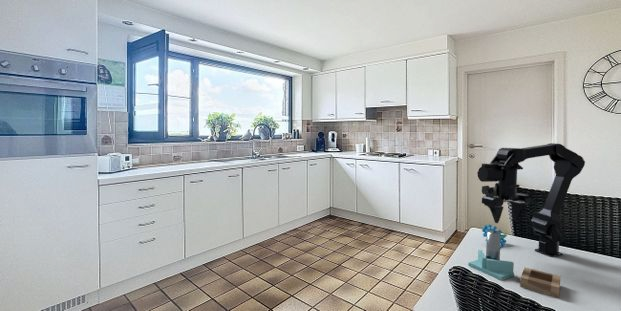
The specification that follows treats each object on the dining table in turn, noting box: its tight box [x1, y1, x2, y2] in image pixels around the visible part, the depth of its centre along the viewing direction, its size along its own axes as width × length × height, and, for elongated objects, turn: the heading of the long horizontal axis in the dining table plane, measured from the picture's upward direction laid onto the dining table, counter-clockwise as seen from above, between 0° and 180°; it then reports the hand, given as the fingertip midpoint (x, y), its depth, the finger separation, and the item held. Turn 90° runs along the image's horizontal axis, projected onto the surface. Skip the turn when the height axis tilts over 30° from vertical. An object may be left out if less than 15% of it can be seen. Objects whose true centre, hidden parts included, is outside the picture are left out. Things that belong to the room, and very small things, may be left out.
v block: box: [467, 249, 515, 281], centre depth 100 cm, size 6×12×5 cm, turn 25°
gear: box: [481, 224, 508, 248], centre depth 125 cm, size 11×6×10 cm
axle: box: [485, 230, 502, 260], centre depth 100 cm, size 4×4×12 cm
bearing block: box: [519, 266, 562, 299], centre depth 90 cm, size 9×9×3 cm
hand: (505, 221), depth 112 cm, fingers open, 9 cm apart
